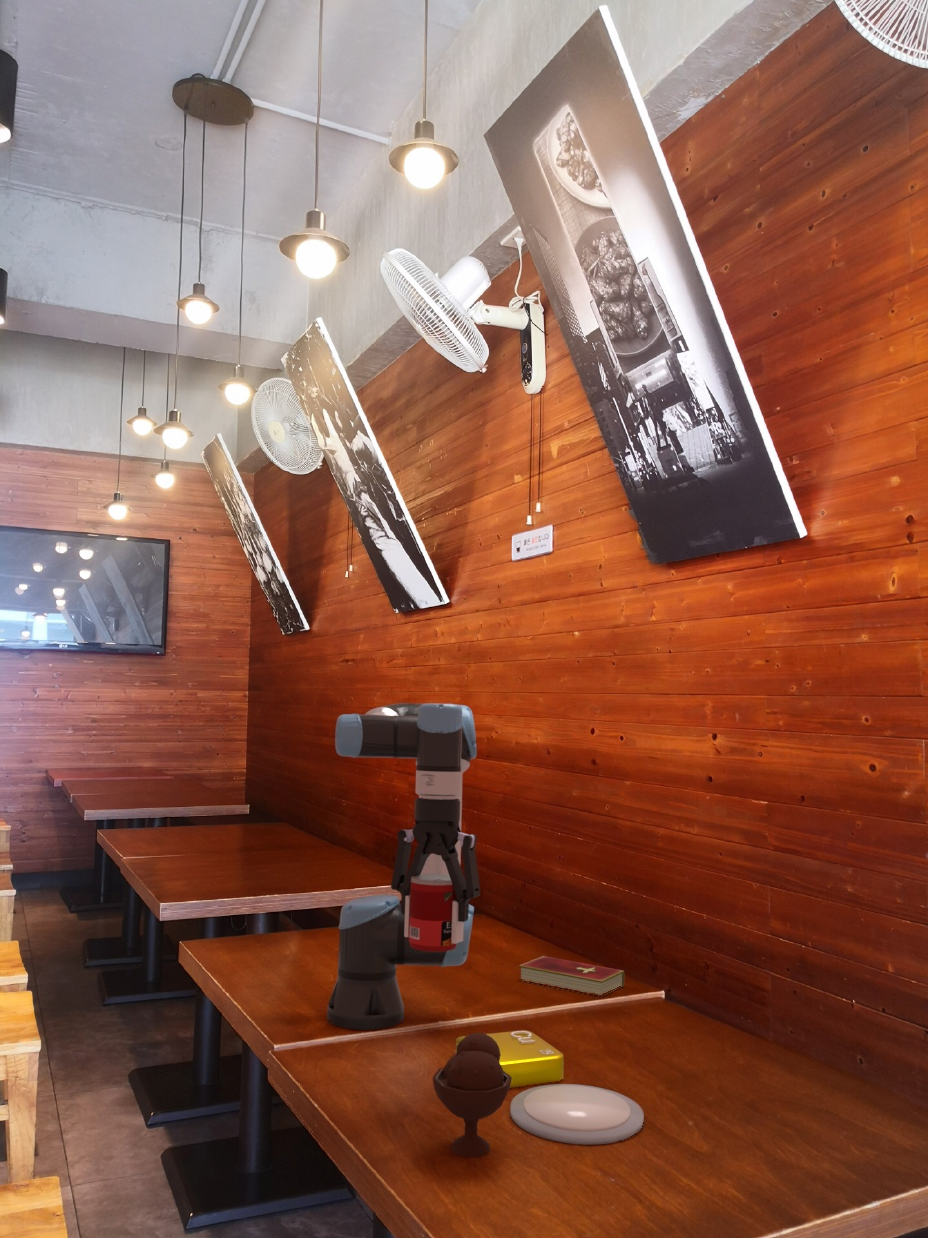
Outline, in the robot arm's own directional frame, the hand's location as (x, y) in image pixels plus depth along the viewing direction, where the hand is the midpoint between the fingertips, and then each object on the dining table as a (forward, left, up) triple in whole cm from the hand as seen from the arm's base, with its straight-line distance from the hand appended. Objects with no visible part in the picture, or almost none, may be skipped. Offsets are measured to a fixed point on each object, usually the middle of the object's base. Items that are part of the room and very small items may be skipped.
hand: (433, 938), depth 156 cm
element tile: (+8, +15, -24) cm, 30 cm away
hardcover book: (-1, +73, -24) cm, 77 cm away
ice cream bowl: (+15, -16, -24) cm, 32 cm away
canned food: (0, 0, -1) cm, 1 cm away
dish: (+24, +2, -24) cm, 34 cm away
